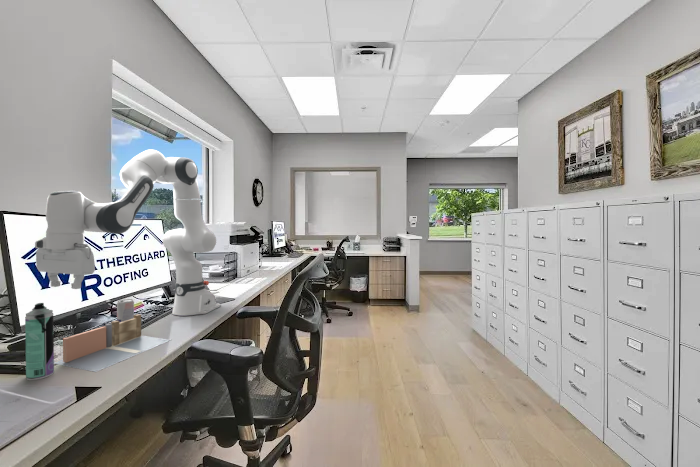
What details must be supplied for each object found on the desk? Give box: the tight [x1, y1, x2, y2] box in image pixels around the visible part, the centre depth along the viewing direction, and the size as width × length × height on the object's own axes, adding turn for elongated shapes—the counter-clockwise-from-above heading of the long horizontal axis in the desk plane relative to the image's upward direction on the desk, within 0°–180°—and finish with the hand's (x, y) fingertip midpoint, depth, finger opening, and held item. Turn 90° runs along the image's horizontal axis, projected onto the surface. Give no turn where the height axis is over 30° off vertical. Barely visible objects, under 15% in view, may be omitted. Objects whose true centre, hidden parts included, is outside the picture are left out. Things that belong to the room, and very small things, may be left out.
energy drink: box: [116, 298, 135, 323], centre depth 123 cm, size 5×5×12 cm
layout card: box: [54, 334, 172, 373], centre depth 105 cm, size 26×18×1 cm
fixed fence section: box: [110, 313, 142, 346], centre depth 113 cm, size 10×2×8 cm, turn 163°
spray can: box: [24, 302, 55, 381], centre depth 87 cm, size 6×6×20 cm
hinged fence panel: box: [62, 323, 112, 363], centre depth 101 cm, size 14×2×7 cm, turn 164°
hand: (65, 287), depth 100 cm, fingers open, 8 cm apart
